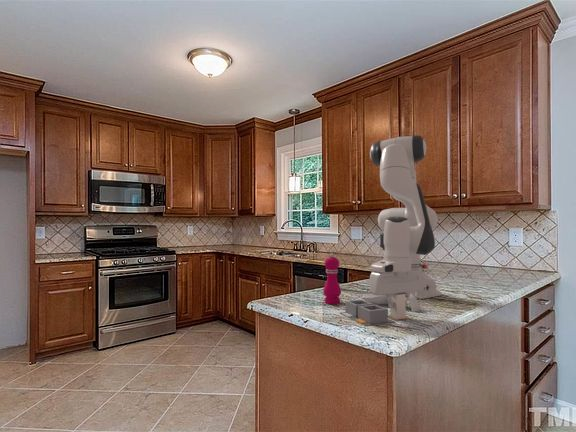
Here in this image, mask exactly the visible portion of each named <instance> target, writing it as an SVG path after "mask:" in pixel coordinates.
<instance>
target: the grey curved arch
mask: <svg viewBox="0 0 576 432" xmlns="http://www.w3.org/2000/svg"><path fill="white" fill-rule="evenodd" d="M362 300H364V301H367V302H370V303H373V305H378V306H380V305H388V300H387V299H386V297H385V295H379V296H376V295H373V294H371V293H366V294H363V295H362ZM408 301H409V303H410V307H411V308H410V309H411V312H413V313H416V312H418V311H421V305H420V303H419V300H418V298H415V297H414V296H413V295H412V294H411V293H410V297H409V299H408Z"/></svg>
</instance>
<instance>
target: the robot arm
mask: <svg viewBox="0 0 576 432" xmlns="http://www.w3.org/2000/svg"><path fill="white" fill-rule="evenodd" d="M370 146H371V147H370V150H369V158H370V161H371V162H372V164H373V165H375V166H376V167H379V180H380V187H382V190H384V192H386V193H387V194H389V195H390V196H392V197H393V199H394V200H396V201H398V202H401V203H402V204H403V206H404V207H391V208H386V209H382V210H381V212H380V213H379V214H378V217H377V223H378V226H379V228H380V229H381V231H380V232H379V237H380V238H379V240H380V241H379V242H380V244H379V247H380V249H382V250H383V252H384V253H383V259H381V260H379V261H376V262H374V263H372V264H371V265H370V270H371V271H372V272H371V273H370V275H369V282H368V284H369V286H368V288H369V292H370V294H373V295H376V296H379V295H385V297H386V299H387V300H388V304H387V305H388V307H389V309H391V308H394V307H395V302H393V300H392V298H391V297H393V294H397V293H404V292H405V307H408V301H409V300H408V299H409V297H410V293H411V294H412V295H413V296H414V297H415V298H416V299H417V300H418V299H419V300H423V299H429V298H434V297H440V296H442V295H443V293H442V292H441V291H439V290H437V284H436V281H435V280H434V278H432V277H431V276H429V275H428V274H427V273H426V272H425V271H424V269H425V270H427V269H428V268H429V265H428V264H425V263H423V264H422V263H421V255H423V256H426V255H428V254H430V253H432V251H433V250H435V249H436V248H435V246H436V237H435V234H434V229H435V228H436V227H437V226H438V222H439V221H438V214H437V213H436V211H435V210H434V209H433V208H431V207H429V206H428V205H427V204H426V201H425V197H424V194H423V191H422V188H421V186H420V184H418V183H417V174H416V167H415V164H416V165H417V164H418V162H420V161H422V160H424V158H425V156H426V153H427V142H426V140H425V138H424V137H423V136H421V135H417V134H415V135H409V136H407V135H406V136H397V137H394V138H388V139H385V140H378V141H375V142H373V143H372V144H371V145H370Z"/></svg>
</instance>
